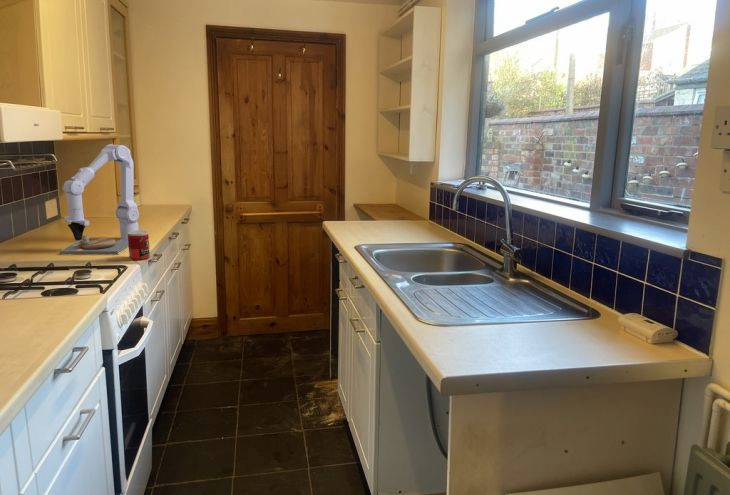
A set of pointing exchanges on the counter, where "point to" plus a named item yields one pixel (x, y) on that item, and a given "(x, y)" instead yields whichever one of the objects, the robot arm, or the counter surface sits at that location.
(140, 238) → the canned food
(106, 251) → the board
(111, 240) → the dial
